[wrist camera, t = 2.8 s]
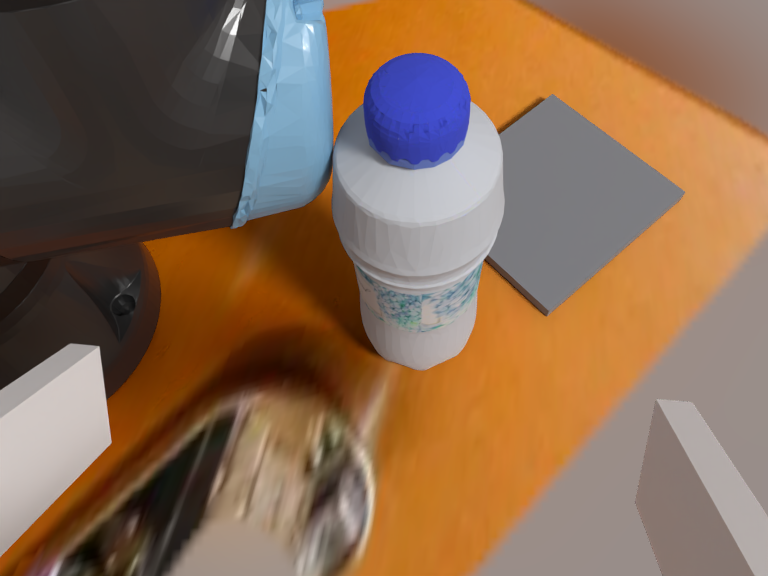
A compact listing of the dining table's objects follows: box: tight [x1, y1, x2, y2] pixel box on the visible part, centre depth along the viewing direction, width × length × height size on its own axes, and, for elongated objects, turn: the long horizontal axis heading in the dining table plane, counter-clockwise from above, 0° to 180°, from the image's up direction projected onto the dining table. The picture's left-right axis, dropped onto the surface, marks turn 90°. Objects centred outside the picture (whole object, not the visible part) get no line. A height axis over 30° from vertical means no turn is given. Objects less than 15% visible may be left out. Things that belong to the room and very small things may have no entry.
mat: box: [485, 94, 685, 316], centre depth 39 cm, size 11×12×1 cm
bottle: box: [332, 53, 505, 370], centre depth 28 cm, size 7×7×20 cm
